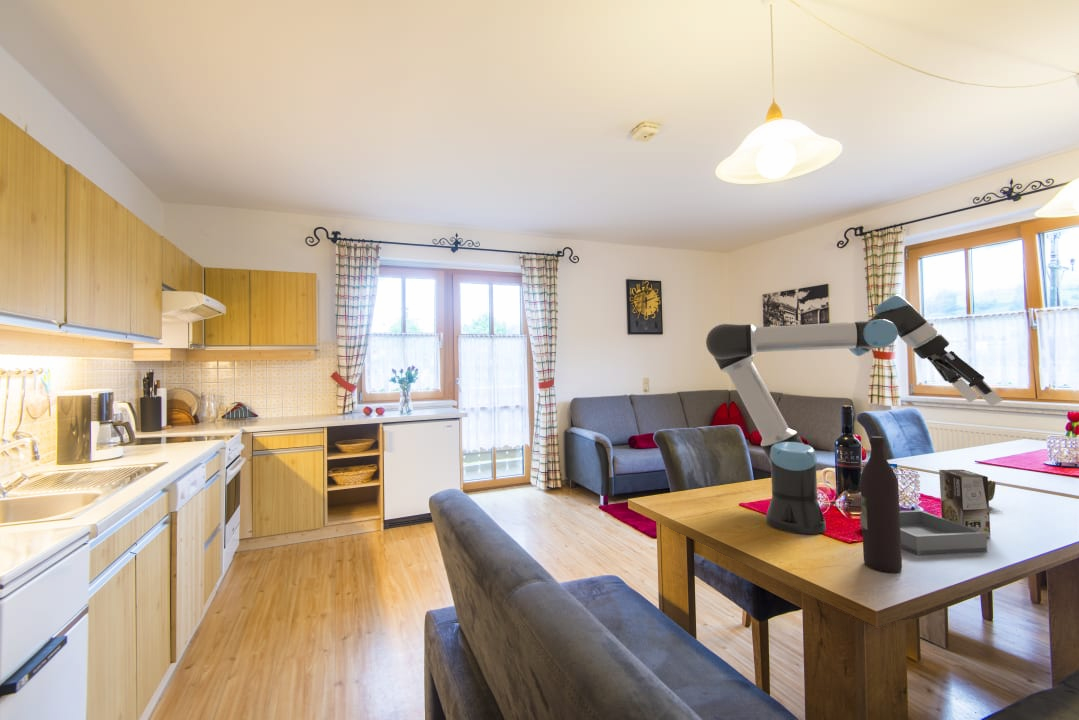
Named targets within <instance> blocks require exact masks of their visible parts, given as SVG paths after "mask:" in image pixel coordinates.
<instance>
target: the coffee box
mask: <svg viewBox="0 0 1079 720" xmlns="http://www.w3.org/2000/svg"><path fill="white" fill-rule="evenodd" d="M938 471H939V472H938V473H939V489H940V491H939V493H940V506H941V509H940V510H941V518H944V519H947V520H950V521H953V522H956V523H959V524H961V525H964V526H967V527H970V528H973V529H976V530H979V531H981V532H984V533H986V538H989V537H990V538H991V523H990V522H991V519H990V518H991V517H990V501H989V494H988V482H989V477H988V476H985V475H982V474H979V473H976V472H972V471H969V470H965V469H938Z"/></svg>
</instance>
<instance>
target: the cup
mask: <svg viewBox="0 0 1079 720" xmlns="http://www.w3.org/2000/svg"><path fill="white" fill-rule="evenodd" d="M995 491H996V481H993V480H988V494H989V502H991V501H992V500H994V498H995Z"/></svg>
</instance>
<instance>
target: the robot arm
mask: <svg viewBox="0 0 1079 720" xmlns="http://www.w3.org/2000/svg"><path fill="white" fill-rule="evenodd" d="M873 310H874V312H875V315H874V316H873V317H871V318H870V319H868V320H863V321H861V320H860V321H848V322H847V321H846V322H845V321H843V322H842V321H841V322H828V323H827V322H826V323H811V324H796V325H795V324H792V325H791V324H790V325H776V326H773V325H772V326H758V327H757V326H755V325H753V324H751V323H750V324H732V323H731V324H729V323H723V324H722V323H721V324H718V325H716V326H714V327H713V328H711V329H710V331H709V332H708V333H707V337H706V339H705V346H706V349H707V350H708V352H709V353H710V354H711V356H713V357H714V360H715V362H716V363H717V365H718V368H719V369H720V371H721V372H723V373H724V372H725V373H727V374H728V377H729V378H730V380H731V381H732V383H733V386H734V387H735V389H736V392H737V393H738V395H739V397H740V399H741V401H742V402H743V405H744V406H745V408H746V410H747V412H748V414H749V415H750V418H751V419H752V421H753V423H754V425H755V427H756V429H757V431H758V432H759V435H760V436H761V442H760V447H761V449H762V451H763V452H764V455H765V456H766V458H767V459H768V462H769V464H770V471H771V472H770V473H771V499H770V502H769V505H768V509H767V512H766V523H767V524H768V525H769V526H770V527H772V528H774V529H777V530H779V531H783V532H788V533H792V534H800V535H814V534H815V535H817V534H822V533H825V531H826V530H827V526H826V519H825V516H824V515H823V512H822V510H821V509H822V508H821V506H820V504H819V501H818V483H817V482H818V481H817V480H818V479H817V477H818V476H817V460H818V458H817V455H816V451H815V449H814V447H812V446H811V445H809V444H805V443H804V441H803V440H802V439H801V437H800V435H799V434H798V432H797V430H794V429H792V428H789V426H788V424H787V422H786V420H785V418H784V417H783V414H782V413H781V411H780V409H779V408H778V406H777V404H776V401H775V400H774V398H773V397H772V395H771V393H770V391H769V389H768V387H767V386H766V383H765V382H764V379H763V378H762V376H761V374H760V372H759V371H758V369H757V367H756V366H755V364H754V359H755V354H756V353H765V352H767V353H768V352H792V351H793V352H794V351H795V352H797V351H815V350H816V351H817V350H820V351H821V350H822V351H823V350H845V349H848V350H849V351H850V352H851V353H852V354H854V355H855V356H857V357H860V356H863V355H865V354H866V353H869V351H872V350H873V349H875V348H876V349H879V348H880V349H881V348H887V347H889V346H890V345H892V344H893V343H894V342H895V341H896V340H897V338H898V336H899V337H900V339H901V340H902V341H903V342H904V343H905V344H906V346H908V347H909V348H913V349H912V350H913V352H915V354H916V355H917V356H918V357H919V358H920V359H923V360H924V359H927V360H928V361H929V362H930V363H931V364H932V365H933V367H934V368H935V369H936V371H937V372H938V374H939V376H941V378H942V379H943V380H944V381H945V382H948V383H949V384H951V385H952V386H953V387H954V389H955V390H956V391H958V392H959V394H960V395H961V396H962V397H964V399H965V400H966V401H967V402H968V403H972V402H974V401H975V400H977V399H979V398H981V397H982V399H983V400H984V401H985V402H986V403H987V404H988V405H989V406H990V407H993V406H995V405H997V404H999V403H1001V402H1003V401H1004V400H1003V398H1002V397H1001V396H999V395H998V393H997V392H996V391H994V389H993V388H991V386H990V385H988V383H986V381H984V379H985V376H984V375H982V374H980V372H978V371H977V370H976V369H975V368H973V367H972V366H971V365H970V364H968V363H967V362H966V361H964V360H963V359H962V358H960V357H959V356H958V355H957V354H956V353H955V352H954V351H952V350H951V351H947V350H945V348H947V347H948V346H949V345H950V342H949V341H948V340H947V339H946V338H945V337H944V336H943V335H942V334H941V333H938V331H937V329H936V328H935V327H934V323H932V322H929V321H928V320H927V319H925V317H924V316H923V315H921V314H920V312H919V311H918V310H917V309H916V308H915V307H914V306H913V305H912V304H911V303H910V302H909V301H908V300H907V299H906V298H904V297H903V296H902V295H900V294H894V295H892V296H890V297H888V298H887V299H885V300H884V301H882V302H880V303H879V304H878V305H876V306H875V307H874V308H873ZM980 396H981V397H980Z"/></svg>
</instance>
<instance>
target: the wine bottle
mask: <svg viewBox="0 0 1079 720" xmlns="http://www.w3.org/2000/svg"><path fill="white" fill-rule="evenodd" d="M868 440H869V444H870V456H869V458H868V461H867V462H866V464H865V465H864V467H863V468H862V471H861V475H860V501H861V502H860V504H861V513H862V529H861V531H862V549H863V550H862V553H863V555H862V556H863V563H864V565H865V566H867V567H868V568H870V569H872V570H874V571H878V572H884V573H892V574H893V573H899V572H902V568H903V562H902V559H903V558H902V548H901V533H900V511H901V510H900V494H899V493H900V491H899V481H898V478H897V475H896V472H895V471H894V470H893V468H892V466H891V464H890V463H889V461H888V460H887V458H886V453H885V445H886V439H885V438H884V436H875V435H874V436H873V435H871V436H870V438H869V439H868Z"/></svg>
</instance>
